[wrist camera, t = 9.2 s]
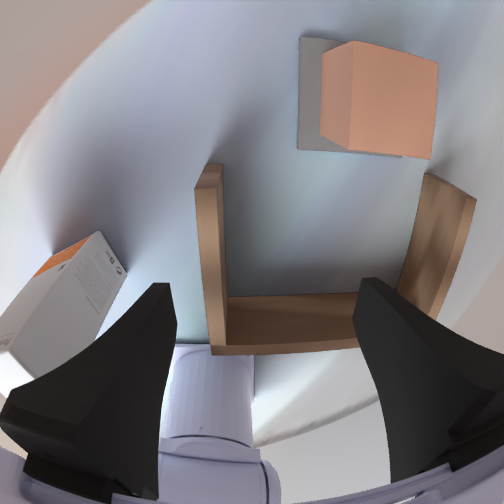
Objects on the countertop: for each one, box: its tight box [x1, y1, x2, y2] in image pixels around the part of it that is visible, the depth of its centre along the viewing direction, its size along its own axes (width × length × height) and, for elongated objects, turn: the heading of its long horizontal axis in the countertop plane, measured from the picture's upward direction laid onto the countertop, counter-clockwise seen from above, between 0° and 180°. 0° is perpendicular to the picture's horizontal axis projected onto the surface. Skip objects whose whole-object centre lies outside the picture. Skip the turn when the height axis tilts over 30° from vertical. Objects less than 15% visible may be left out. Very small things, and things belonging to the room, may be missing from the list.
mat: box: [297, 36, 402, 158], centre depth 15 cm, size 7×7×1 cm
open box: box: [194, 164, 477, 356], centre depth 18 cm, size 11×16×5 cm
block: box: [320, 40, 438, 160], centre depth 13 cm, size 5×4×5 cm
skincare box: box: [0, 231, 127, 398], centre depth 15 cm, size 6×4×12 cm
